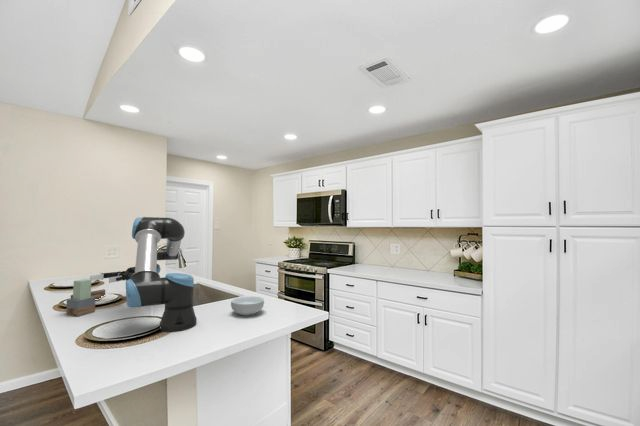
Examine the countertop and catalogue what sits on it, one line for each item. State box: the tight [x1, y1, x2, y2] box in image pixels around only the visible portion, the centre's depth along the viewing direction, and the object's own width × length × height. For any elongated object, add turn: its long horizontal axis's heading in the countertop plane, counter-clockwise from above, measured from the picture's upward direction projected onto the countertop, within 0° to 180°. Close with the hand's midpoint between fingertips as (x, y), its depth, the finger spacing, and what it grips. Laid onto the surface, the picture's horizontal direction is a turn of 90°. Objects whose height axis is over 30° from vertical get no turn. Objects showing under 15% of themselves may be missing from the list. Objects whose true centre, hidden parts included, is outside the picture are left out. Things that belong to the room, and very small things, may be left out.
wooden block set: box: [70, 288, 106, 299], centre depth 168 cm, size 17×6×18 cm
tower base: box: [65, 304, 96, 318], centre depth 145 cm, size 8×8×4 cm
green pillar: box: [72, 278, 92, 300], centre depth 145 cm, size 5×5×9 cm
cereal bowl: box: [230, 295, 265, 317], centre depth 149 cm, size 17×17×7 cm
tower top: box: [65, 297, 96, 309], centre depth 145 cm, size 8×8×4 cm
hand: (100, 279), depth 153 cm, fingers open, 13 cm apart
